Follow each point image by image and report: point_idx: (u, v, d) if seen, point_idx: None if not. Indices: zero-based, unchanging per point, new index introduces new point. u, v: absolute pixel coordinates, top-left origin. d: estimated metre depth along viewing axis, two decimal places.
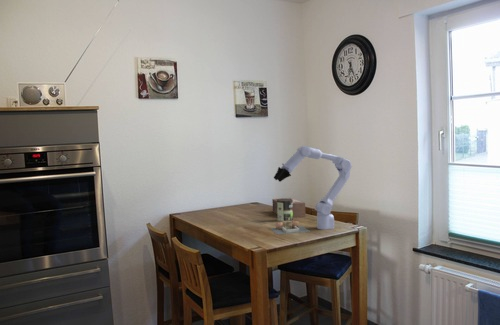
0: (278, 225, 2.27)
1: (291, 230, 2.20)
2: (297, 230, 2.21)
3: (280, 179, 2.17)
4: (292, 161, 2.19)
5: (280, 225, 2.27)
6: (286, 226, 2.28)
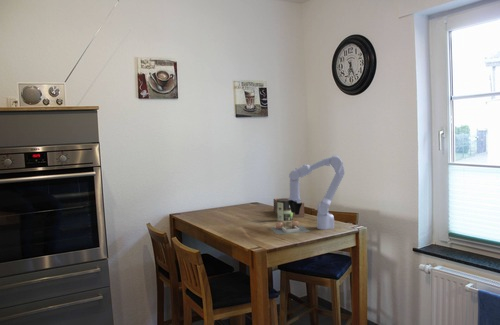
0: (278, 225, 2.27)
1: (291, 230, 2.20)
2: (297, 230, 2.21)
3: (297, 212, 2.27)
4: (294, 191, 2.27)
5: (280, 225, 2.27)
6: (286, 226, 2.28)
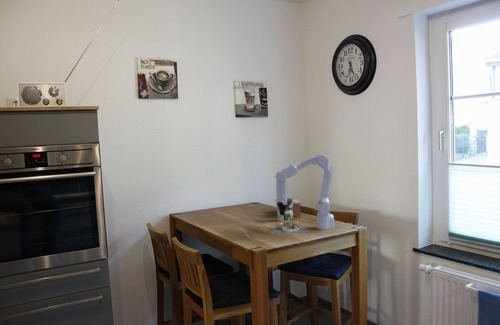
0: (279, 225, 2.27)
1: (291, 230, 2.20)
2: (297, 230, 2.21)
3: (282, 213, 2.26)
4: (280, 193, 2.24)
5: (281, 225, 2.27)
6: (286, 226, 2.28)
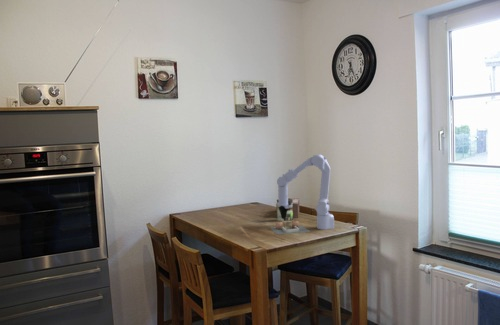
0: (279, 225, 2.27)
1: (291, 230, 2.20)
2: (297, 230, 2.21)
3: (284, 216, 2.36)
4: (282, 197, 2.33)
5: (281, 225, 2.27)
6: (286, 226, 2.28)
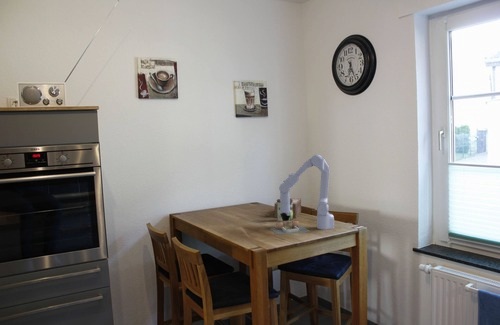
0: (280, 225, 2.27)
1: (291, 230, 2.20)
2: (297, 230, 2.21)
3: None
4: (284, 204, 2.30)
5: (281, 225, 2.27)
6: (286, 226, 2.28)
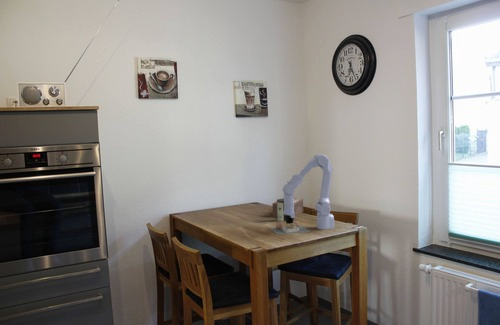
0: (280, 225, 2.27)
1: (291, 230, 2.20)
2: (297, 230, 2.21)
3: None
4: (288, 206, 2.22)
5: None
6: None
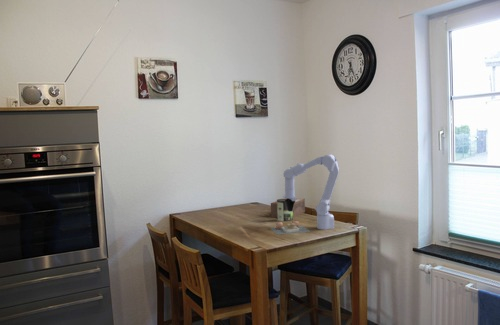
0: (281, 225, 2.27)
1: (291, 230, 2.20)
2: (297, 230, 2.21)
3: (291, 209, 2.34)
4: (289, 190, 2.32)
5: (282, 224, 2.28)
6: None
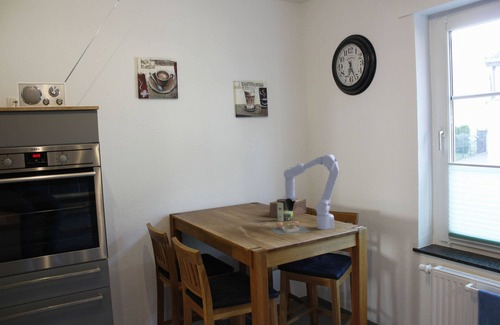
0: (282, 225, 2.28)
1: (291, 230, 2.20)
2: (297, 230, 2.21)
3: (291, 209, 2.35)
4: (289, 189, 2.32)
5: None
6: None
